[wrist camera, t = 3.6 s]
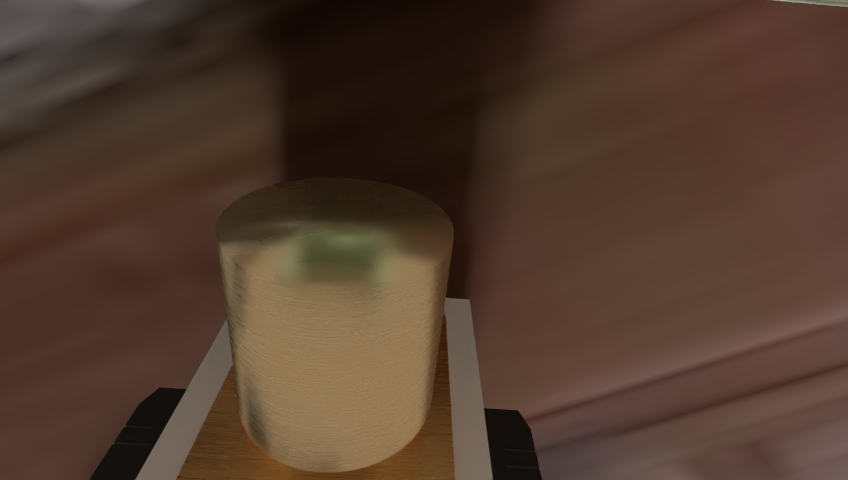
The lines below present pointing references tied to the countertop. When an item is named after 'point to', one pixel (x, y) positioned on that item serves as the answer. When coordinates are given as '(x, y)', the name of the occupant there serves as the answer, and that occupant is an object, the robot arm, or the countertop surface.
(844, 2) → the socket block
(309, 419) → the cylinder on square base
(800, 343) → the countertop surface
